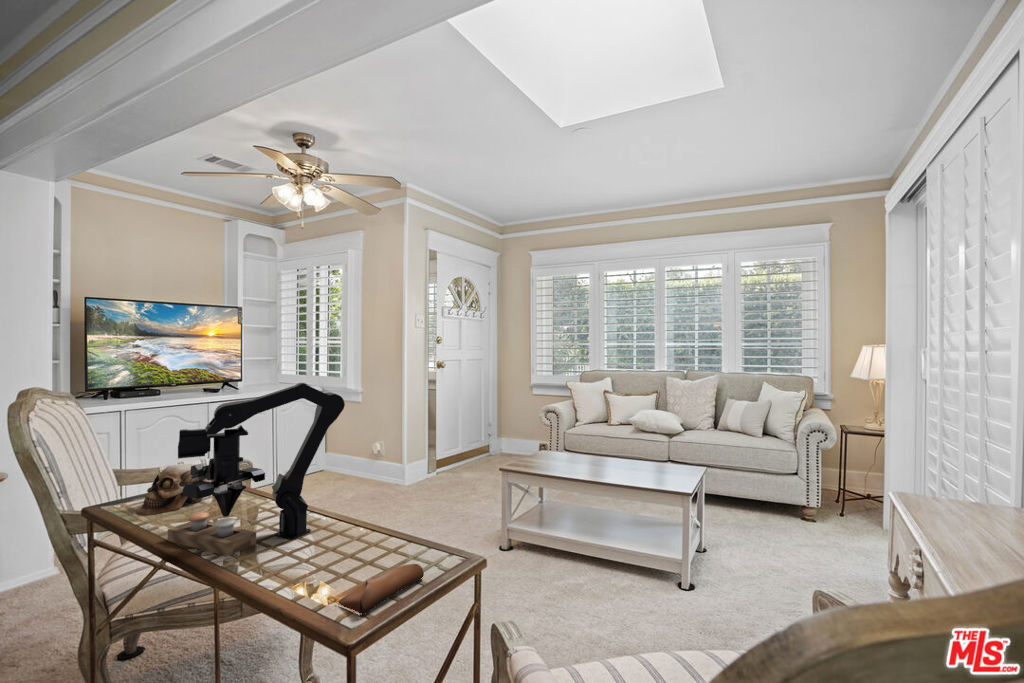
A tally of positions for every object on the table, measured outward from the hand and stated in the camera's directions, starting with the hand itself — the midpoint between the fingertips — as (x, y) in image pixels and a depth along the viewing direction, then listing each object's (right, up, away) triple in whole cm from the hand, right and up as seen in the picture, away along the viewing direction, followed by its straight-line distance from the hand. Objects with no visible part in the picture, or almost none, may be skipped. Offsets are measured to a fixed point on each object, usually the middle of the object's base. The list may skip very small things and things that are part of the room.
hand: (225, 516), depth 126 cm
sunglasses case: (+45, -9, -22) cm, 51 cm away
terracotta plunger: (-9, -5, +4) cm, 11 cm away
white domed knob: (0, -5, 0) cm, 5 cm away
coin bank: (-33, -7, +30) cm, 45 cm away
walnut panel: (-5, -7, +2) cm, 9 cm away
